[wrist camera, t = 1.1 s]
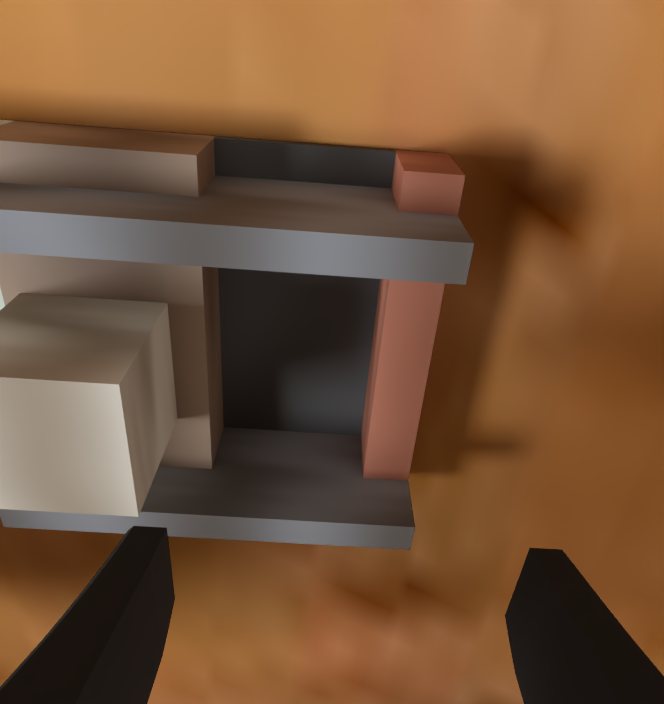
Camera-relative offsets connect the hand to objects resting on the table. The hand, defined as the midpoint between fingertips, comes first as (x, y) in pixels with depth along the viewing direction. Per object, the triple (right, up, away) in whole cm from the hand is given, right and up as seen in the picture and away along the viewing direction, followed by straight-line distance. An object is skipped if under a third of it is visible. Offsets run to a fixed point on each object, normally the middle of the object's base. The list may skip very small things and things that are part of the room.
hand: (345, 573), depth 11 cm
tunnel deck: (-6, +5, +8) cm, 11 cm away
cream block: (-7, +4, +6) cm, 10 cm away
